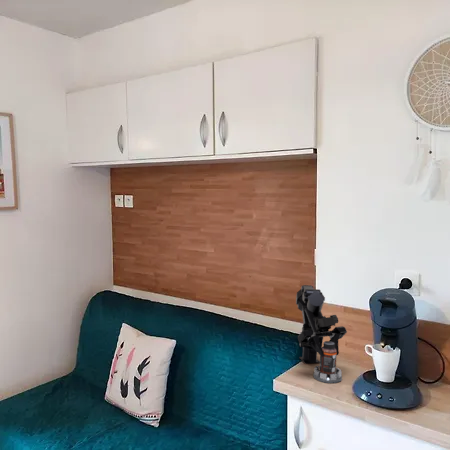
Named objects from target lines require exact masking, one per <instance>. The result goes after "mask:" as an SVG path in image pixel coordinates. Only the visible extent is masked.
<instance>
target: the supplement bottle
mask: <svg viewBox="0 0 450 450" xmlns="http://www.w3.org/2000/svg"><path fill="white" fill-rule="evenodd" d="M334 345H335V344H334V342H331V341H329V340H325V341H323V343H322V347H321V348H322V350H323V353H324V357H322V356H321V355H320V354H319V361H320V363H319V366H320V367H319V368H320V369H319V370H320V372H321V373H326V374H327V375H330V374H335V371H336V368H337V357H338V355H337V350H336V349H335V347H334Z"/></svg>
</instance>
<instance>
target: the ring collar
mask: <svg viewBox="0 0 450 450" xmlns="http://www.w3.org/2000/svg"><path fill="white" fill-rule="evenodd" d="M319 367H320V365H316V366H315V367H314V368H313V369H314V371H313V378H314V380H316V381H318V382H320V383H324V384H339V383H341V382H342V380H343V375H342V369H341V368H339V367H336V371H335V374H330V375H327V374H326V373H321V372H320V370H319V369H320V368H319Z"/></svg>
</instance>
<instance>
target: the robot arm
mask: <svg viewBox="0 0 450 450" xmlns="http://www.w3.org/2000/svg"><path fill="white" fill-rule="evenodd" d="M325 300H326V297H325V295H324V294H323V292H322V291H321V289H316V288H314V285H309V284H308V285H307V284H303V285H301V287H300V289H299V290H298V291H296V297H295V305H297V309H298V310H299V311H301V315H302V321H303V324H302V328H301V332H300V333H299V335H298V336H297V340H298V343H299V347H300V348H302V356H299V357H298V358H299V360H301V361H302V363H304V364H306V365H307V364H320V359H318V356H317V355H319V356H320V355H321V356H322V357H324V353H323V350H322V347H323V343H324V338H325V337H329V340H328V341H331V342H334V344H335V345H334V347H335V349H336V350H337V356H339V351H340V350H339V340H341V339H342V338H343V337H345V335H346V334H347V333H348V331H347V329H346V327H345V326H343V325H340V326H336V324H338V323H339V318H338V316H337V314H331V315H329V317H327V316H326V315H325V316H324V315H323V313H322V309H323V306H324V302H325ZM334 326H335V327H334ZM332 327H334V328H333V329H332ZM331 329H332V330H331Z"/></svg>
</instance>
